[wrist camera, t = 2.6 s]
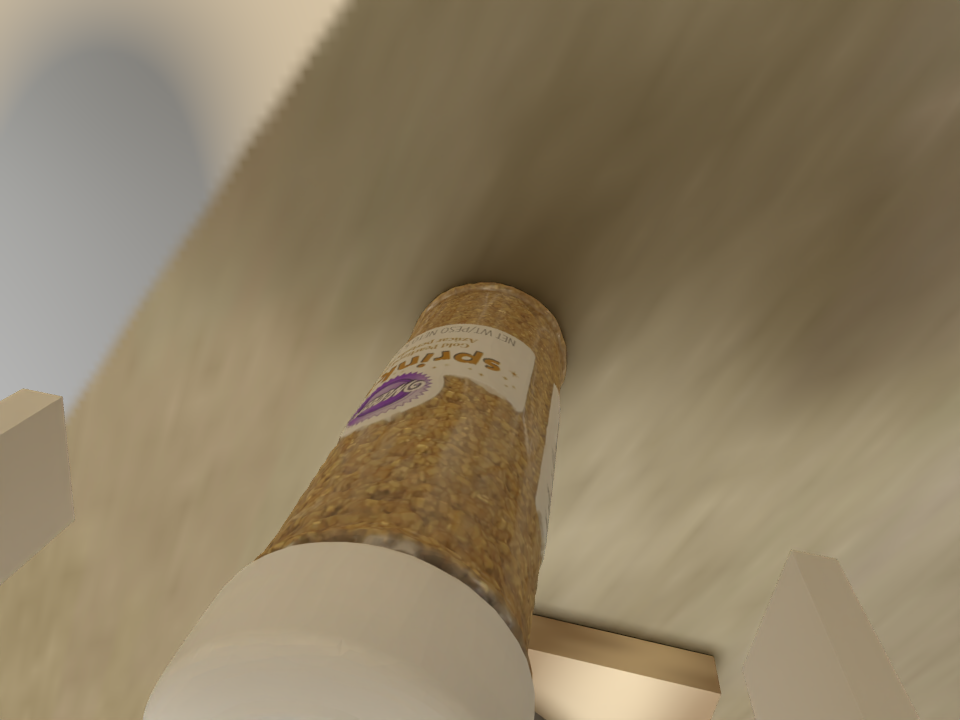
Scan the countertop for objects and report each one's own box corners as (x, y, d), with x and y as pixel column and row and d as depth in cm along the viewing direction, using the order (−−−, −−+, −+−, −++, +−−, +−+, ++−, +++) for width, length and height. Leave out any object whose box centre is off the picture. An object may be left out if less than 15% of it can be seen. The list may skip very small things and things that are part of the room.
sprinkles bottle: (491, 244, 19) (291, 580, 6) (602, 363, 19) (612, 863, 7) (379, 346, 20) (51, 766, 8) (486, 452, 21) (334, 979, 9)
